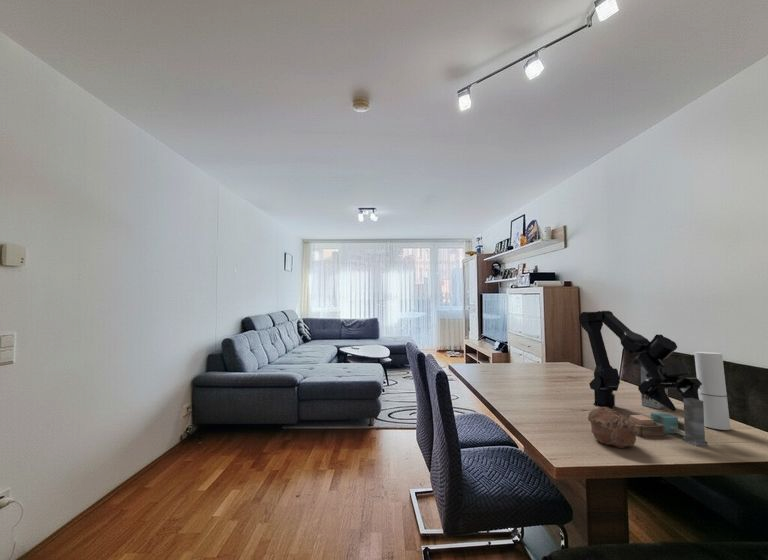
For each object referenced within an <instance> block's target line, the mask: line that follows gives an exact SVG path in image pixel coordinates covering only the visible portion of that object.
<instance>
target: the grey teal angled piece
mask: <svg viewBox="0 0 768 560" xmlns="http://www.w3.org/2000/svg"><path fill="white" fill-rule="evenodd" d="M683 416H684V417H683V419H684V420H683V423H684V424H685V431H682V430H680V429H678V421H679V416H678V417H677V416H675V415H673V414H670V413H667V412H664V411H663V412H660V411H659V412H658V411H657V412H650V419H653V421H655V422H658V423H660V424H663V425H665V434H680V435H682V441H684V442H686V443H688V442H689V443H688V444H691V445H693V444H694V445H693V446H695V445H702V446H708V445H709V442H708V441H706V433H705V432H706V431H705V426H704V407H703V401H701V400H698V399H694V398H684V397H683Z"/></svg>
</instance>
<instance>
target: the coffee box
mask: <svg viewBox="0 0 768 560" xmlns="http://www.w3.org/2000/svg"><path fill="white" fill-rule="evenodd" d="M646 374H647V372H646V370H645V369H644V368H643V366H642V365H640V384H641V383H642V382H643V381H644V380H645V379H652V378H651V377H650V378H647V376H646ZM668 390H669V389H665V393H666V394H667V396H668V397H669V391H668ZM640 394H641V393H640ZM640 400H641V405H642V406H645V407H647V408H648V407H649V408H654V409H657V410H659V409H660V410H661V409H663V408H665V407H666V406H664V405H662V404H661V403H659V402H657V401H656V400H654V399H652V398H650V397H647V396H646V395H642V394H641V399H640ZM666 408H667V407H666Z"/></svg>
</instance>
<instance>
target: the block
mask: <svg viewBox="0 0 768 560" xmlns="http://www.w3.org/2000/svg"><path fill="white" fill-rule="evenodd" d="M629 419H630V420H631V421H632V422H633V423H635V424H637V425H654V422H653V419H651V417H648V416H645V415H642V414H632V415H629Z"/></svg>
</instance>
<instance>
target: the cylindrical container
mask: <svg viewBox="0 0 768 560" xmlns="http://www.w3.org/2000/svg"><path fill="white" fill-rule="evenodd" d="M693 355H694V362H695V363H694V365H695V373H696V374H695V375H696V378H697V379H698V380H699V381H700V382H701V383H702V385H701V386H700V388H699V389H698V391H697V393H698V397H699V400H701V401H703V407H704V428H705V427H706V428H708V429H709V428H710V429H715V430H722V431H729V430H731V420H730V413H729V404H728V396H727V395H728V393H727V386H726V377H725V376H726V375H725V368H724V359H723V353H722V352H711V351H710V352H709V351H694V354H693Z"/></svg>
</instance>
